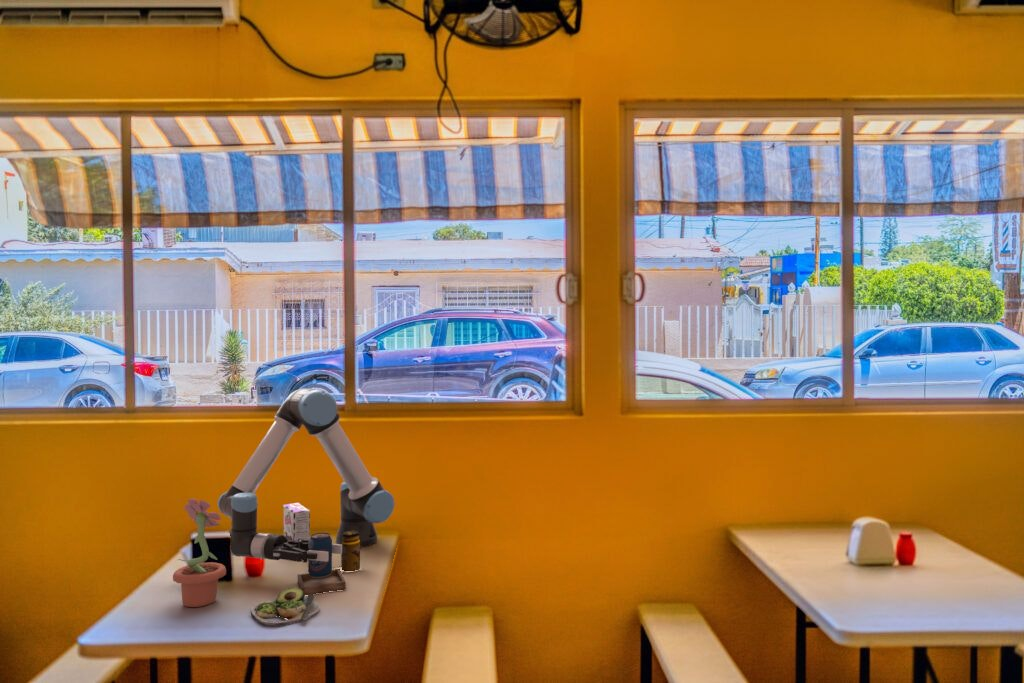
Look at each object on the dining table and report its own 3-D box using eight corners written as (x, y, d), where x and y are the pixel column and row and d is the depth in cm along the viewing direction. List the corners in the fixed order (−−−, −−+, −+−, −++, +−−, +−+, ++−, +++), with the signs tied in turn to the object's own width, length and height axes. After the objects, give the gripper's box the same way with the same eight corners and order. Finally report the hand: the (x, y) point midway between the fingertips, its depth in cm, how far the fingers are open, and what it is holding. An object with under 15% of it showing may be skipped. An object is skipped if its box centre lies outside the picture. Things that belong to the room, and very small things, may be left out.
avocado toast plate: (334, 618, 177) (334, 601, 177) (266, 636, 166) (266, 618, 166) (309, 597, 192) (309, 581, 192) (245, 612, 181) (245, 595, 181)
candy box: (282, 549, 237) (282, 504, 237) (299, 547, 240) (299, 501, 240) (293, 559, 225) (293, 511, 226) (310, 556, 229) (310, 509, 229)
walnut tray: (339, 576, 208) (339, 568, 208) (345, 590, 197) (345, 581, 197) (297, 582, 203) (297, 574, 203) (301, 596, 192) (301, 587, 192)
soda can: (307, 579, 195) (307, 539, 196) (308, 572, 202) (309, 532, 202) (331, 577, 197) (331, 537, 197) (332, 570, 204) (332, 531, 204)
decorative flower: (240, 597, 191) (239, 494, 192) (203, 615, 178) (202, 504, 179) (200, 591, 196) (200, 490, 197) (161, 608, 183) (161, 501, 184)
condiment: (364, 570, 215) (364, 533, 215) (339, 575, 210) (338, 537, 210) (356, 564, 221) (356, 528, 221) (331, 568, 216) (331, 532, 216)
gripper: (289, 549, 214) (351, 555, 208) (248, 568, 196) (315, 576, 189) (289, 526, 215) (352, 531, 208) (248, 543, 196) (315, 549, 189)
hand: (334, 552), depth 198 cm, fingers closed on soda can, 7 cm apart
